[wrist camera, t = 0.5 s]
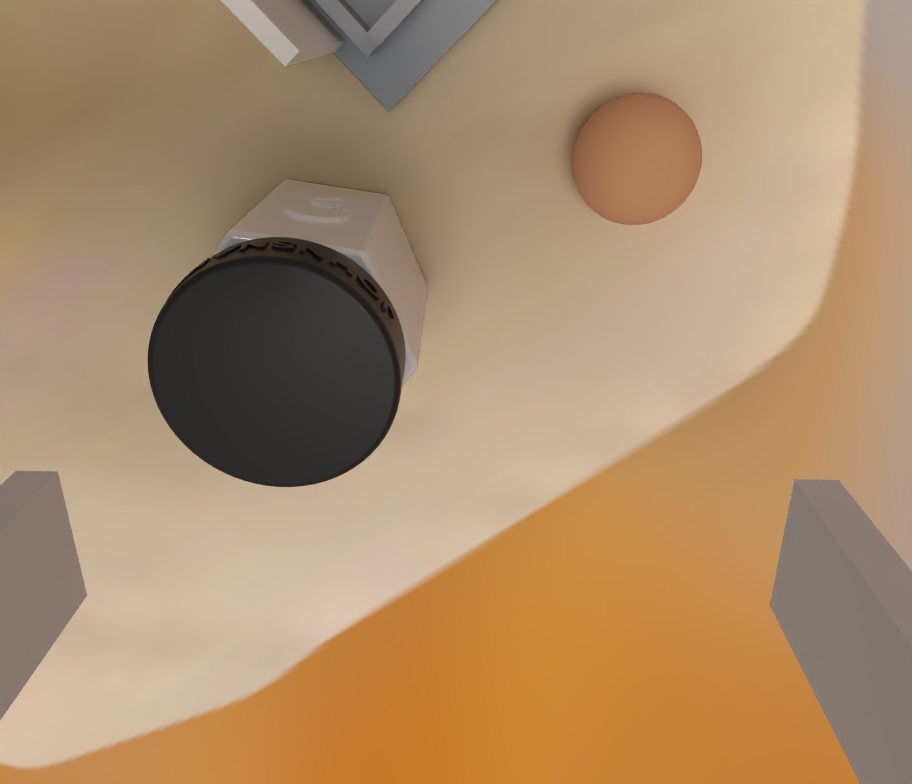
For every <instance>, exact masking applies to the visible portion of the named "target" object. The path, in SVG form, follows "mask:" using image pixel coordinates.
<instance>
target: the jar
mask: <svg viewBox="0 0 912 784" xmlns="http://www.w3.org/2000/svg"><path fill="white" fill-rule="evenodd" d="M426 297H427V284H426V282H425V279H424V277H423V274H422V272H421V270H420V267H419V265H418V263H417V260H416V258H415V256H414V253H413V251H412V249H411V246H410V244H409V241H408V239H407V237H406V234H405V232H404V230H403V227H402V225H401V222H400V220H399V218H398V215H397V213H396V211H395V208H394V206H393V203H392V201H391V199H390V197H389V196H388V195H386V194H380V193H374V192H367V191H360V190H354V189H347V188H341V187H334V186H328V185H321V184H315V183H309V182H302V181H296V180H290V179H285V180H283V181H282V182H281V183H280V184H279V185H277V186H276V187H275V188H274V189H273V190H272V191H271V192H270V193H269V194H268V195H267V196H266V197H264V198H263V199H262V200H261V201H260V202H259V203H258V204H257V205H256V206H255V207H254V208H253V209H251V210H250V211H249V212H248V213H247V214H246V215H245V216H244V217H243V218H242V219H241V220H240V221H238V222H237V223H236V224H235V225H234V226H233V227H232V228H231V229H230V230H229V231H228V232H227V233H226V234H225V236H224V237H223V239H222V240H221V242H220V243H219V244H218V246H217V247H216V249H215V250H214V252H213V253H212V255H211V256H210V258H208V259H206V260H205V261H203V262H202V263H201V264H200V265H199V266H197V267H196V268H195V269H193V270H192V271H191V272H190V273H189V274H188V275H187V276H186V277H185V278H184V279H183V280H182V281H181V282H180V283H179V284H178V285H177V287H176V288H175V289H174V290H173V292H172V293H171V295H170V296H169V298H168V299H167V301H166V303H165V304H164V306H163V308H162V309H161V311H160V313H159V315H158V317H157V319H156V322H155V324H154V327H153V330H152V333H151V337H150V342H149V348H148V374H149V379H150V385H151V388H152V392H153V395H154V398H155V401H156V403H157V406H158V408H159V410H160V412H161V414H162V416H163V417H164V419H165V421H166V422H167V424H168V425H169V427H170V428H171V429H172V431H173V432H174V433H175V435H176V436H177V437H178V438H179V439H180V440H181V441H182V442H183V444H184V445H185V446H187V447H188V448H189V449H190V450H191V451H192V452H193V453H194V454H196V455H197V456H198V457H199V458H201V459H202V460H203V461H205V462H206V463H208V464H210V465H211V466H213V467H214V468H216V469H218V470H220V471H222V472H224V473H226V474H228V475H231V476H233V477H235V478H238V479H241V480H244V481H248V482H252V483H255V484H261V485H267V486H276V487H297V486H306V485H312V484H317V483H320V482H324V481H327V480H330V479H333V478H336V477H338V476H340V475H342V474H344V473H346V472H348V471H349V470H351V469H353V468H354V467H356V466H357V465H359V464H360V463H361V462H363V461H364V460H365V459H366V458H367V457H368V456H369V455H371V454H372V452H373V451H374V450H375V449H376V448H377V447H378V446H379V444H380V443H381V442H382V440H383V439H384V438H385V436H386V434H387V433H388V431H389V429H390V427H391V425H392V423H393V421H394V418H395V416H396V412H397V409H398V405H399V401H400V395H401V388H402V386H403V385H404V384H405V382H406V381H407V380H408V379H409V378H410V377H411V375H412V374H413V373H414V372H415V371H416V369H417V367H418V360H419V352H420V344H421V336H422V328H423V320H424V312H425V304H426Z"/></svg>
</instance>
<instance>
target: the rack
mask: <svg viewBox="0 0 912 784" xmlns="http://www.w3.org/2000/svg"><path fill="white" fill-rule="evenodd" d="M221 1H222V2H223V3H224V4H225V5H226V6H227V7H228V9H229V10H230V11H231V12H232V13H233V14H234V15H235V16H236V17H237V18H238V19H239V20H240V21H241V22H242V23H243V24H244V25H245V26H246V27H247V28H248V29H249V30H250V31H251V32H252V33H253V34H254V35H255V36H256V37H257V39H258V40H259V41H260V42H261V43H262V44H263V45H264V46H265V47H266V48H267V49H268V50H269V51H270V52H271V53H272V54H273V55H274V56H275V57H276V58H277V59H278V60H279V61H280V62H281V63H282V64H283V65H284V66H285V67H287V66H290V65H294V64H297V63H300V62H304V61H307V60H310V59H314V58H317V57H321V56H324V55H327V54H331V53H334V54H335V55H336V56H337V58H338V59H339V60H340V61H341V62H342V63H343V64H344V65H345V66H346V67H347V68H348V69H349V70H350V71H351V72H352V74H353V75H354V76H355V77H356V78H357V79H358V80H359V81H360V82H361V83H362V84H363V85H364V86H365V87H366V89H367V90H368V91H369V92H370V93H371V94H372V95H373V96H374V97H375V98H376V99H377V100H378V101H379V102H380V103H381V105H382V106H383V107H384V108H385V109H386V110H387V111H388V112H389V111H390V110H391V109H392V108H393V107H394V106H395V105H396V104H397V103H398V102H399V101H400V100H401V99H402V98H403V97H404V96H405V95H406V94H407V93H408V91H409V90H410V89H411V88H412V87H413V86H414V85H415V84H416V83H417V82H418V81H419V80H420V79H421V78H422V77H423V76H424V75H425V74H426V73H427V72H428V71H429V70H430V69H431V68H432V67H433V66H434V65H435V63H436V62H437V61H438V60H439V59H440V58H441V57H442V56H443V55H444V54H445V53H446V52H447V51H448V50H449V49H450V48H451V47H452V46H453V45H454V44H455V43H456V42H457V41H458V40H459V39H460V38H461V36H462V35H463V34H464V33H465V32H466V31H467V30H468V29H469V28H470V27H471V26H472V25H473V24H474V23H475V22H476V21H477V20H478V19H479V18H480V17H481V16H482V15H483V14H484V13H485V12H486V11H487V9H488V8H489V7H490V6H491V5H492V4H493V3H494V2H495V1H496V0H221Z"/></svg>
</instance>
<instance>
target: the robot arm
mask: <svg viewBox="0 0 912 784" xmlns="http://www.w3.org/2000/svg"><path fill="white" fill-rule="evenodd" d="M86 596H87V593H86V589H85V585H84V581H83V577H82V572H81V568H80V564H79V560H78V555H77V551H76V547H75V543H74V538H73V534H72V530H71V526H70V522H69V517H68V513H67V509H66V505H65V500H64V496H63V492H62V488H61V483H60V479H59V475H58V472H51V471H15V472H14V473H13V474H12V475H11V476H10V477H9V478H8V479H7V480H6V481H5V482H4V483H3V484H2V485H1V486H0V720H1V718H2V717H3V716H4V714H5V713H6V711H7V710H8V708H9V707H10V705H11V704H12V703H13V701H14V700H15V698H16V697H17V695H18V694H19V693H20V691H21V690H22V688H23V687H24V685H25V684H26V682H27V681H28V680H29V678H30V677H31V675H32V674H33V672H34V671H35V670H36V668H37V667H38V665H39V664H40V662H41V661H42V659H43V658H44V657H45V655H46V654H47V652H48V651H49V649H50V648H51V646H52V645H53V644H54V642H55V641H56V639H57V638H58V636H59V635H60V634H61V632H62V631H63V629H64V628H65V626H66V625H67V623H68V622H69V621H70V619H71V618H72V616H73V615H74V613H75V612H76V610H77V609H78V608H79V606H80V605H81V603H82V602H83V600H84V599H85V598H86ZM770 607H771V609H772V611H773V613H774V615H775V616H776V619H777V621H778V623H779V625H780V627H781V629H782V630H783V632H784V634H785V636H786V638H787V640H788V642H789V644H790V646H791V648H792V650H793V652H794V654H795V656H796V658H797V660H798V662H799V664H800V666H801V668H802V670H803V672H804V674H805V676H806V678H807V680H808V682H809V684H810V686H811V688H812V690H813V692H814V693H815V696H816V698H817V700H818V702H819V703H820V705H821V707H822V709H823V711H824V713H825V715H826V717H827V719H828V721H829V723H830V725H831V727H832V729H833V731H834V733H835V735H836V737H837V739H838V741H839V743H840V745H841V747H842V749H843V751H844V753H845V755H846V757H847V759H848V761H849V763H850V765H851V767H852V768H853V771H854V773H855V774H856V776H857V779H858V780H859V783H860V784H912V571H911V570H910V569H909V567H908V566H907V565H906V564H905V562H904V561H903V560H902V559H901V558H900V556H899V555H898V554H897V552H896V551H895V550H894V549H893V547H892V546H891V545H890V544H889V542H888V541H887V540H886V539H885V537H884V536H883V535H882V534H881V532H880V531H879V530H878V529H877V528H876V526H875V525H874V524H873V522H872V521H871V520H870V519H869V518H868V516H867V515H866V514H865V512H864V511H863V510H862V509H861V507H860V506H859V505H858V504H857V502H856V501H855V500H854V499H853V497H852V496H851V495H850V494H849V493H848V491H847V490H846V489H845V488H844V486H843V485H842V484H841V482H840V481H839V480H794V485H793V490H792V495H791V500H790V505H789V510H788V515H787V520H786V525H785V531H784V536H783V541H782V546H781V551H780V556H779V562H778V566H777V571H776V577H775V582H774V587H773V592H772V597H771V602H770Z"/></svg>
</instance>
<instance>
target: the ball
mask: <svg viewBox="0 0 912 784" xmlns="http://www.w3.org/2000/svg"><path fill="white" fill-rule="evenodd" d="M701 163H702V147H701V141H700V138H699V135H698V131H697V129H696V127H695V125H694V123H693V121H692V120H691V118H690V117H689V116H688V115H687V113H686V112H685V111H684V110H683V109H681V108H680V107H679V106H678V105H677V104H675V103H674V102H672V101H670V100H668V99H666V98H664V97H661V96H658V95H654V94H645V93H635V94H628V95H624V96H621V97H618V98H615V99H613V100H611V101H609V102H607V103H606V104H604V105H603V106H601V107H600V108H599V109H598V110H596V111H595V112H594V113H593V114H592V115H591V116H590V117H589V119H588V120H587V121H586V123H585V124H584V125H583V127H582V129H581V131H580V133H579V135H578V137H577V140H576V143H575V146H574V150H573V157H572V168H573V175H574V179H575V183H576V186H577V188H578V191H579V193H580V194H581V196H582V198H583V199H584V201H585V202H586V203H587V204H588V205H589V206H590V207H591V208H592V209H593V210H594V211H595V212H596V213H598V214H599V215H600V216H602V217H604V218H606V219H608V220H610V221H613V222H616V223H621V224H627V225H641V224H647V223H650V222H654V221H657V220H659V219H661V218H663V217H665V216H667V215H669V214H670V213H672V212H673V211H674V210H675V209H677V208H678V207H679V206H680V205H681V204H682V203H683V202H684V201H685V200H686V198H687V197H688V196H689V194H690V193H691V191H692V190H693V188H694V186H695V184H696V182H697V179H698V176H699V173H700V169H701Z"/></svg>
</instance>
